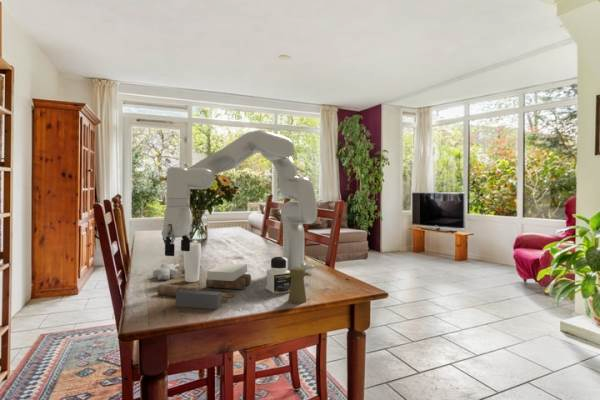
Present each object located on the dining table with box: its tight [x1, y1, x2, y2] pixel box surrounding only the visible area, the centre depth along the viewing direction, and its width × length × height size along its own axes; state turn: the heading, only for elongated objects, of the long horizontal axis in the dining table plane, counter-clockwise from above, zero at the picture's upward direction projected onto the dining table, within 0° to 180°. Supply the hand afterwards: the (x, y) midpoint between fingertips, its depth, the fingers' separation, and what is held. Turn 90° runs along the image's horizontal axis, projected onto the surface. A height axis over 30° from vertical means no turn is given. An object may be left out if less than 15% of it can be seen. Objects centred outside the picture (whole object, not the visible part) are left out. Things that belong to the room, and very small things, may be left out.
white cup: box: [182, 241, 202, 283], centre depth 137 cm, size 7×7×15 cm
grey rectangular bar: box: [175, 289, 223, 311], centre depth 108 cm, size 14×3×4 cm, turn 78°
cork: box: [288, 267, 307, 305], centre depth 114 cm, size 6×6×11 cm
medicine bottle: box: [266, 256, 291, 295], centre depth 126 cm, size 7×7×12 cm
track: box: [205, 273, 252, 303], centre depth 125 cm, size 14×23×4 cm, turn 168°
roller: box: [157, 284, 201, 297], centre depth 119 cm, size 14×4×4 cm, turn 78°
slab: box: [206, 262, 248, 281], centre depth 130 cm, size 10×14×3 cm
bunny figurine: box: [152, 263, 181, 281], centre depth 144 cm, size 10×5×15 cm
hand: (177, 253), depth 118 cm, fingers open, 9 cm apart
